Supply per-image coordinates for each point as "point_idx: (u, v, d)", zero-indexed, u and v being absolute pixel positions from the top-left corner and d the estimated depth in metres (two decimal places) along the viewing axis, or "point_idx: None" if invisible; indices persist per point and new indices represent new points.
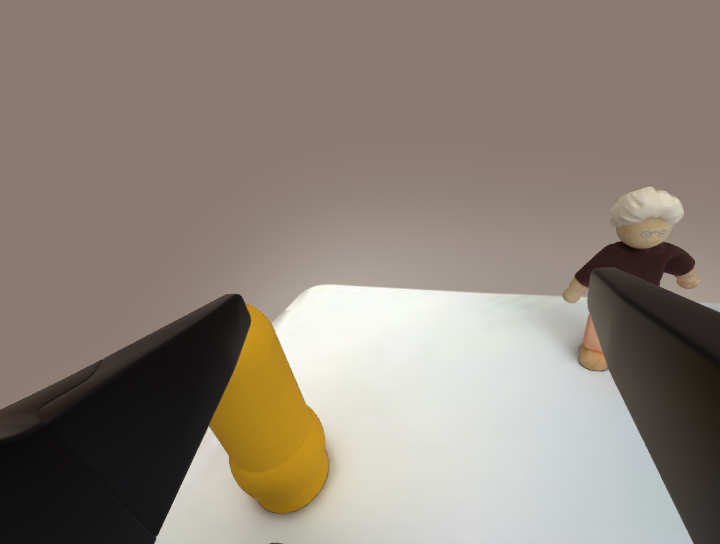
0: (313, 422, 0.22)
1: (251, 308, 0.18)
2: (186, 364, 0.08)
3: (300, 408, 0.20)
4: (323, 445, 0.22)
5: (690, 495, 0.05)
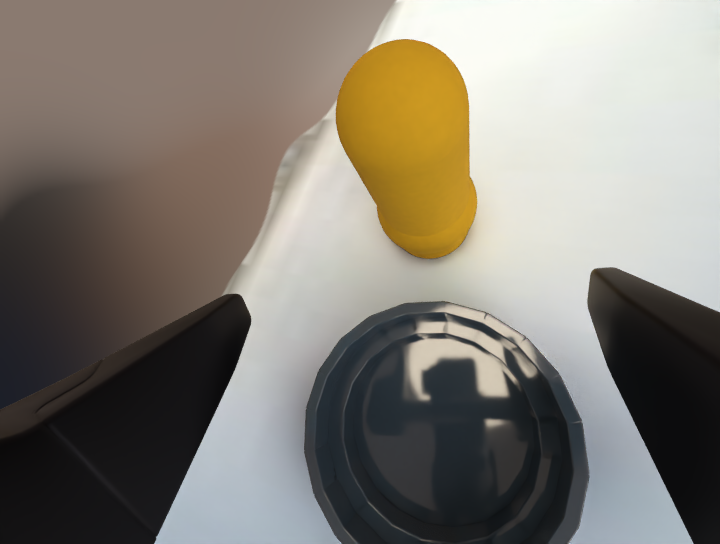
0: (471, 188, 0.19)
1: (443, 57, 0.12)
2: (186, 364, 0.08)
3: (468, 180, 0.17)
4: None
5: (690, 495, 0.05)
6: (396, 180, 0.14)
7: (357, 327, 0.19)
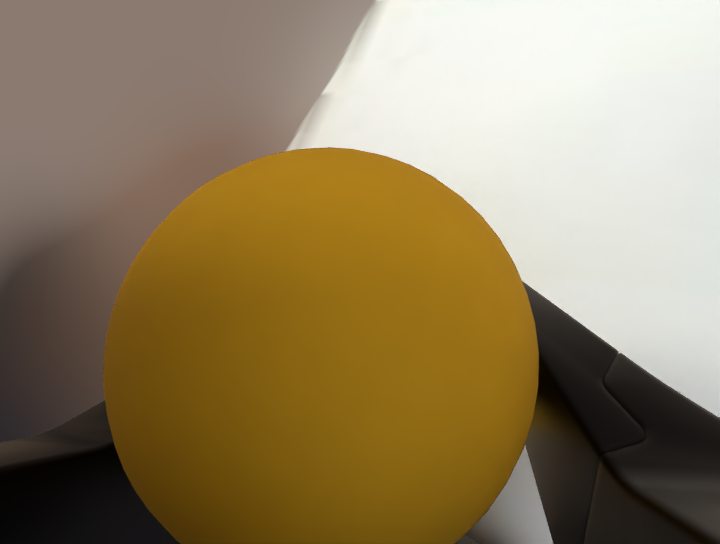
0: None
1: (460, 247, 0.03)
2: None
3: None
4: None
5: (543, 483, 0.06)
6: None
7: None
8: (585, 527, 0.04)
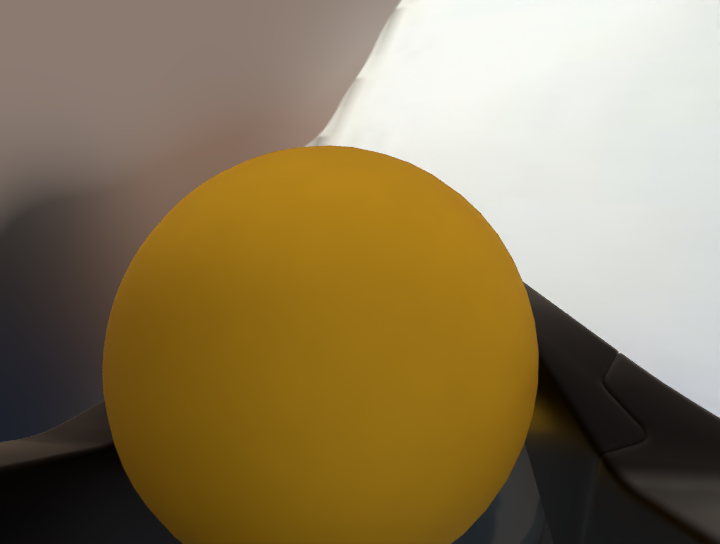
0: None
1: (460, 245, 0.03)
2: None
3: None
4: None
5: (543, 483, 0.06)
6: None
7: None
8: (585, 527, 0.04)
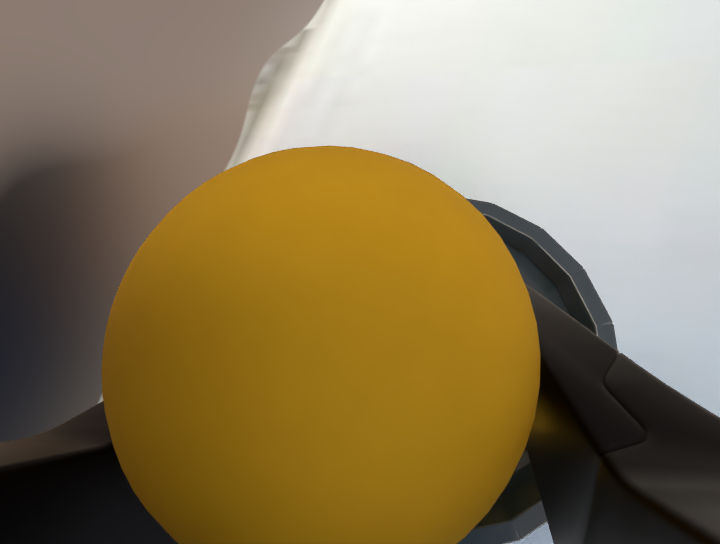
0: None
1: (461, 246, 0.03)
2: None
3: None
4: None
5: (543, 483, 0.06)
6: None
7: None
8: (586, 527, 0.04)
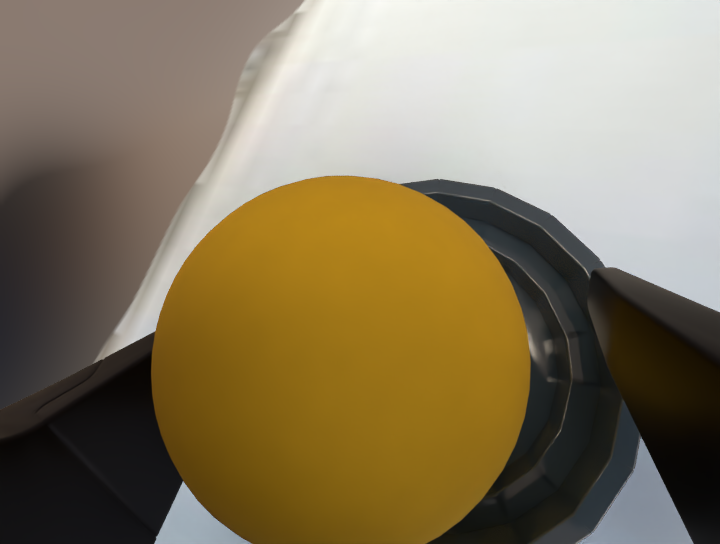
0: None
1: (463, 272, 0.03)
2: None
3: None
4: None
5: (690, 495, 0.05)
6: None
7: None
8: None
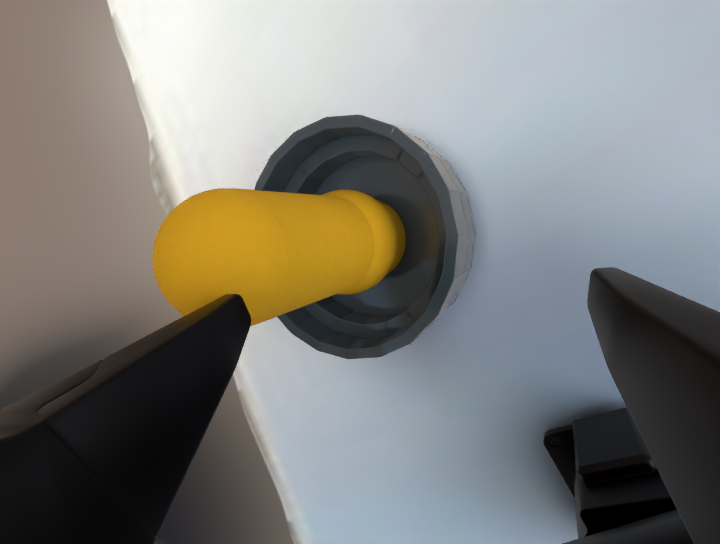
0: (360, 204, 0.18)
1: (201, 208, 0.11)
2: (186, 364, 0.08)
3: (345, 215, 0.16)
4: (383, 209, 0.19)
5: (690, 495, 0.05)
6: (277, 310, 0.13)
7: None
8: None
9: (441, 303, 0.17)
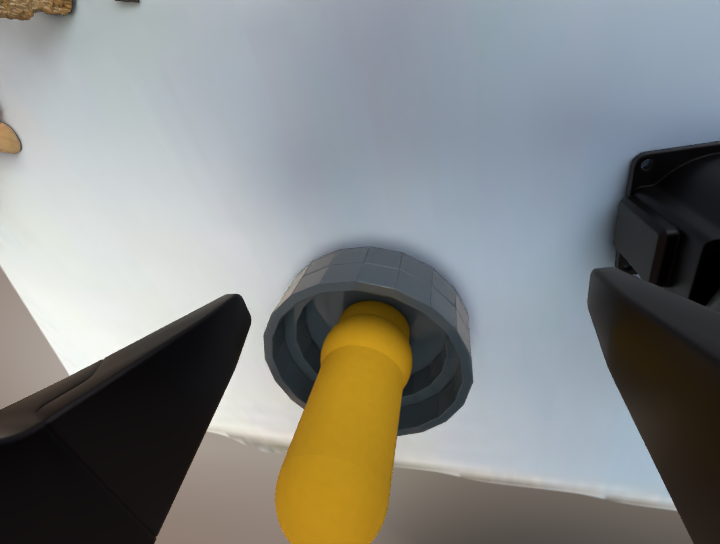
0: (339, 343, 0.21)
1: (284, 508, 0.14)
2: (186, 364, 0.08)
3: (340, 370, 0.19)
4: (352, 321, 0.22)
5: (690, 495, 0.05)
6: (385, 479, 0.15)
7: None
8: None
9: (446, 322, 0.19)
